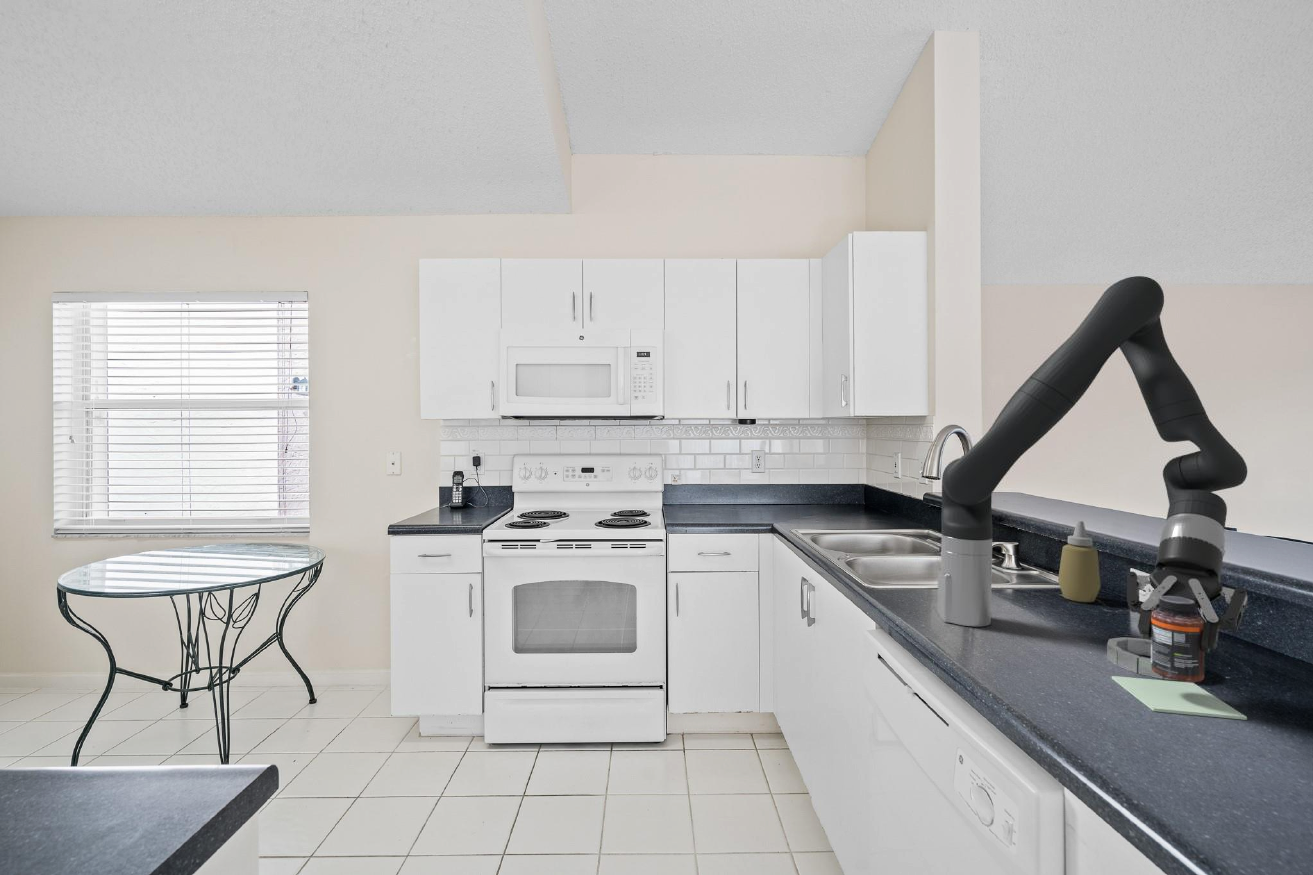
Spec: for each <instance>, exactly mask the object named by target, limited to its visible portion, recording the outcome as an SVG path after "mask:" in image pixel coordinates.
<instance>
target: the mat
mask: <svg viewBox="0 0 1313 875" xmlns="http://www.w3.org/2000/svg"><path fill="white" fill-rule="evenodd" d="M1111 679H1112V680H1113V681H1114V682H1116V684H1118V685H1119V686H1121V687H1122V688H1123V689H1125V691H1127V692H1129V693H1130V694H1131V695H1132V696H1133V697H1135V698H1136V699H1137V700H1138V701H1140V702H1141V703H1142V704H1144V705H1145V706H1146V707H1148V708H1149V709H1150V710H1152V711H1153V712H1160V713H1167V714H1168V713H1169V714H1178V715H1179V714H1181V715H1188V716H1189V715H1190V716H1201V717H1212V718H1221V719H1231V720H1232V719H1233V720H1243V721H1247V720H1248V717H1247V716H1246V715H1245V714H1243V713H1241V712H1239V711H1238V710H1236V709H1235V708H1233V707H1232V706H1231V705H1229V704H1227V703H1225V702H1224V701H1222V700H1220V699H1219V698H1217V697H1216V696H1215V695H1213V694H1212V693H1209V692H1208V691H1206V690H1205V689H1204V688H1202V687H1200V686H1198V685H1197V684H1196V683H1195V682H1182V681H1177V680H1165V679H1154V678H1152V679H1151V678H1141V677H1140V678H1138V677H1129V676H1118V675H1112V676H1111Z"/></svg>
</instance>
